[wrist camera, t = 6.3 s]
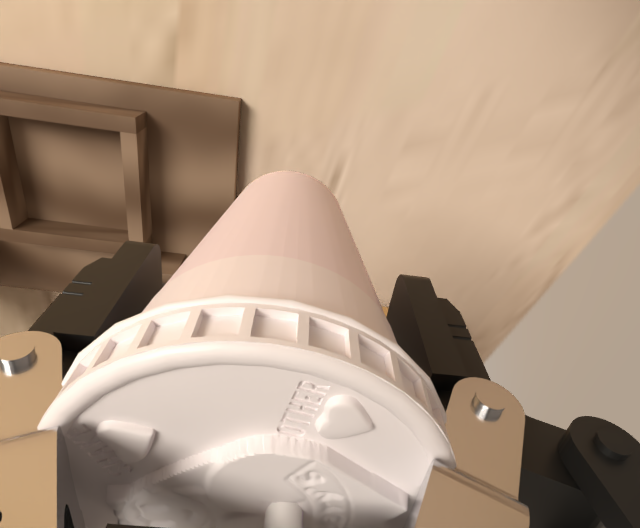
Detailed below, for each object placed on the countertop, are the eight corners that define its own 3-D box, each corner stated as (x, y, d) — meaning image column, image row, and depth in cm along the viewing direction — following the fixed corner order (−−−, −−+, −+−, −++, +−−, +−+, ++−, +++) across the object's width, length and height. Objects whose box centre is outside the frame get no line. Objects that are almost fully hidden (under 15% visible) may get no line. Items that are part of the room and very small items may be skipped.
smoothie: (379, 298, 16) (538, 1096, 4) (208, 302, 17) (-81, 1095, 5) (386, 123, 13) (1065, 1382, 1) (174, 130, 13) (-1181, 1355, 1)
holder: (-110, 45, 28) (-270, 60, 20) (241, 98, 30) (215, 130, 22) (-39, 273, 36) (-133, 344, 29) (230, 303, 38) (208, 377, 30)
